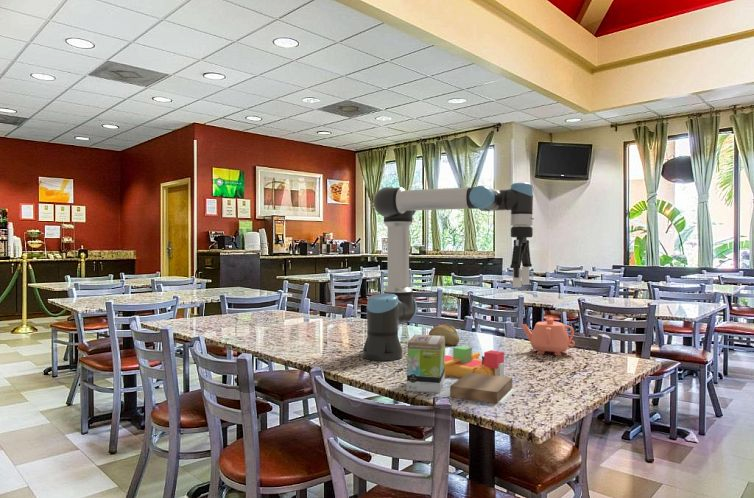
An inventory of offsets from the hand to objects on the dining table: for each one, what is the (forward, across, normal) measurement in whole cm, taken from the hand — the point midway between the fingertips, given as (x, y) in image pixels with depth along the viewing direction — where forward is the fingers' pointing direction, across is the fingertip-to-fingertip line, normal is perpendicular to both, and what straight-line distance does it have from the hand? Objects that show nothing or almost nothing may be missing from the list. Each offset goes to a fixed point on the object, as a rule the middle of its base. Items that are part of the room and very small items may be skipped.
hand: (521, 285), depth 190 cm
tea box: (+28, -46, +18) cm, 56 cm away
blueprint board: (+28, -46, +2) cm, 53 cm away
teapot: (+28, +26, -5) cm, 39 cm away
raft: (+28, -24, +15) cm, 40 cm away
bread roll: (+28, +24, +38) cm, 53 cm away
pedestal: (+27, -46, +1) cm, 53 cm away
